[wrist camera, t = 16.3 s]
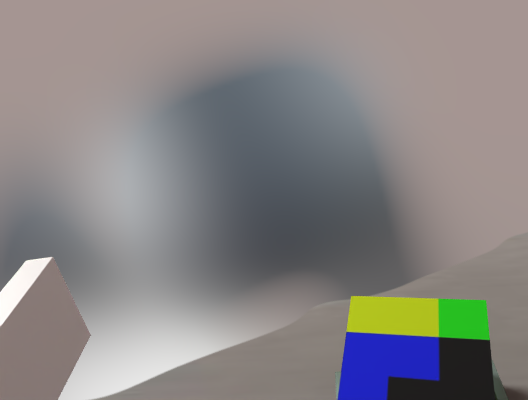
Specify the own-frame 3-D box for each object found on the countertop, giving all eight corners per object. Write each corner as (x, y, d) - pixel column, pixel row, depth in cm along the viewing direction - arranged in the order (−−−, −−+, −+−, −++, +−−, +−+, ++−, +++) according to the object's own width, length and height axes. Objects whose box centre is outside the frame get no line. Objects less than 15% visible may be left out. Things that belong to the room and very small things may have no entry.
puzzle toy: (356, 473, 40) (335, 418, 33) (367, 360, 47) (351, 296, 40) (494, 495, 36) (498, 437, 30) (483, 368, 43) (486, 300, 37)
